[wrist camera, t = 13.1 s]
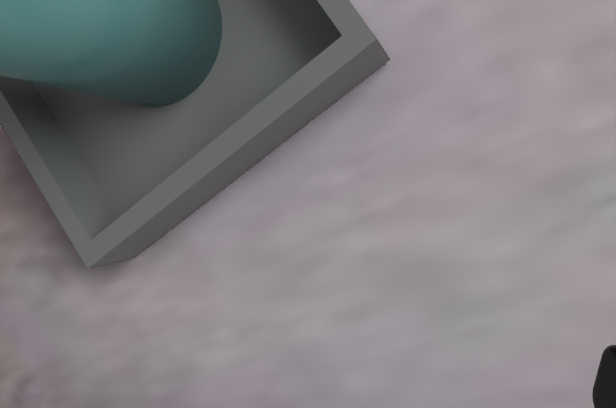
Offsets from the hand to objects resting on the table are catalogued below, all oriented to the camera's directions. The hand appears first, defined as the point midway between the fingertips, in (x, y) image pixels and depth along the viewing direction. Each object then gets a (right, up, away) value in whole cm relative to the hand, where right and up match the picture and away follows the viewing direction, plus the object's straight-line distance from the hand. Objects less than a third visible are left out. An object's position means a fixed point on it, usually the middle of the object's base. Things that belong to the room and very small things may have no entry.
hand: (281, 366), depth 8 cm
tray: (-6, +9, +14) cm, 18 cm away
